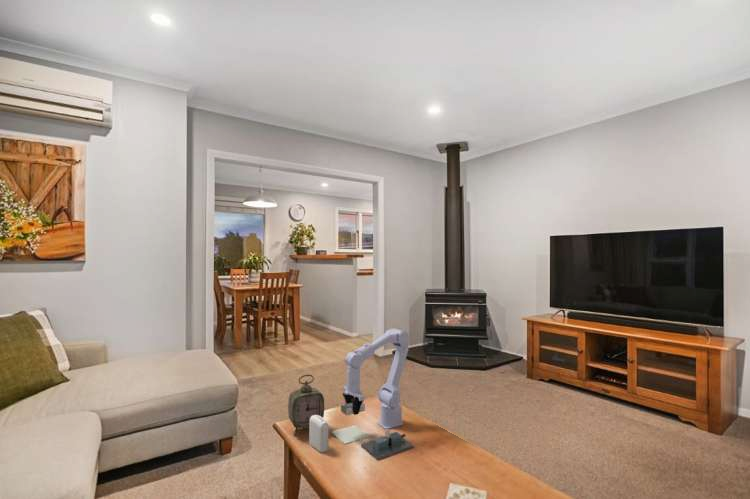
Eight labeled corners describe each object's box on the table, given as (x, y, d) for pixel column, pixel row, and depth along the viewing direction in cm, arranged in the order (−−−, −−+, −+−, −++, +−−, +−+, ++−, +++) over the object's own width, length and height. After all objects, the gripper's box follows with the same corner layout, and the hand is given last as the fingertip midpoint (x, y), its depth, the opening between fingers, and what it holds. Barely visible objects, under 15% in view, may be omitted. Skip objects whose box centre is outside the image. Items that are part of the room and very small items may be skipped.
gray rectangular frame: (358, 406, 169) (358, 400, 169) (364, 410, 165) (364, 403, 165) (341, 411, 164) (341, 404, 164) (346, 415, 160) (346, 408, 160)
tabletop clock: (291, 438, 161) (292, 380, 161) (286, 429, 169) (287, 373, 169) (324, 431, 168) (324, 375, 168) (317, 422, 176) (318, 369, 176)
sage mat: (354, 425, 173) (354, 425, 173) (368, 436, 163) (368, 436, 163) (331, 432, 167) (331, 431, 167) (344, 444, 157) (344, 443, 157)
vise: (396, 435, 165) (396, 418, 165) (413, 447, 155) (413, 429, 155) (361, 446, 155) (361, 428, 155) (377, 460, 145) (377, 440, 145)
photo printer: (307, 443, 157) (308, 413, 157) (316, 440, 160) (317, 411, 160) (320, 454, 149) (321, 422, 149) (329, 450, 152) (330, 419, 152)
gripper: (337, 377, 168) (336, 407, 168) (354, 387, 156) (353, 420, 156) (351, 374, 172) (350, 404, 172) (368, 384, 160) (367, 416, 160)
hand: (352, 411), depth 164 cm, fingers closed on gray rectangular frame, 5 cm apart
